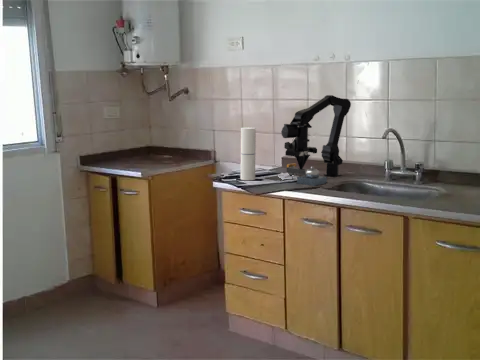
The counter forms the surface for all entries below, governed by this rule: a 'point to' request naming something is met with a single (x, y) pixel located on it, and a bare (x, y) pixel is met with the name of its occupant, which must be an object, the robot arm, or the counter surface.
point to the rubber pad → (274, 178)
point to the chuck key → (292, 167)
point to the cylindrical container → (248, 153)
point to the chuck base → (311, 180)
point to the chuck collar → (304, 171)
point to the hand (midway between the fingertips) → (301, 168)
